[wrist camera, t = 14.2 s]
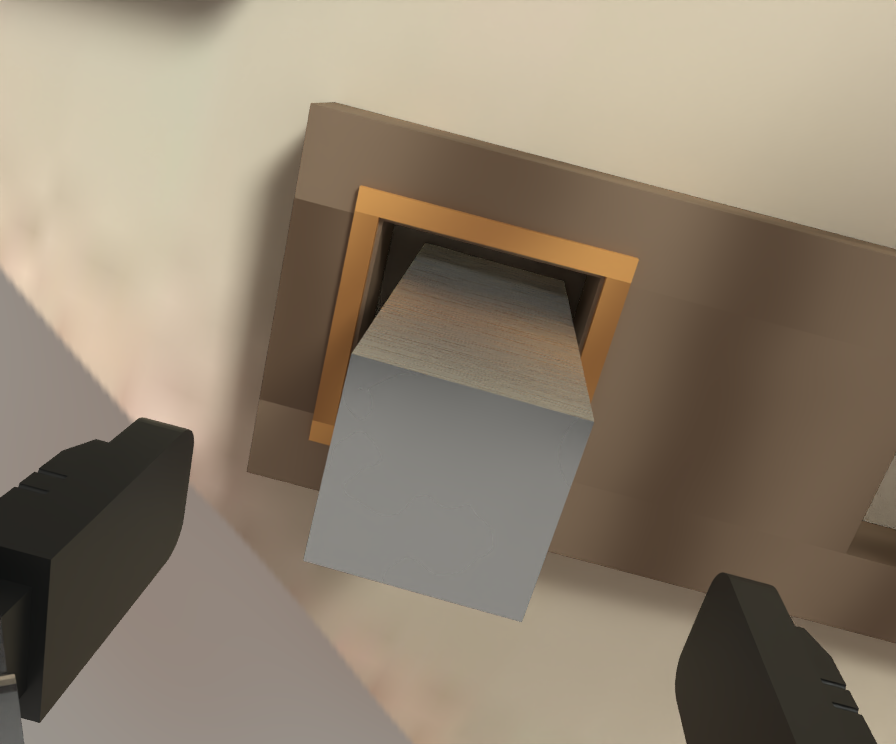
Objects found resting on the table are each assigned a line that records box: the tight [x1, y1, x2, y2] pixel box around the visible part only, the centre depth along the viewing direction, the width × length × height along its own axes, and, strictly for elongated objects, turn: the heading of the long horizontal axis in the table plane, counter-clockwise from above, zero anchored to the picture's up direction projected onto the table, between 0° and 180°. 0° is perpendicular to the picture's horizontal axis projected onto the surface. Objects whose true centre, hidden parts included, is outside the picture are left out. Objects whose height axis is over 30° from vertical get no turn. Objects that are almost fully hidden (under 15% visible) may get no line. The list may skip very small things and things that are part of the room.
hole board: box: [247, 102, 896, 643], centre depth 21 cm, size 24×10×3 cm, turn 76°
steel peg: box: [303, 243, 594, 622], centre depth 18 cm, size 4×4×10 cm
